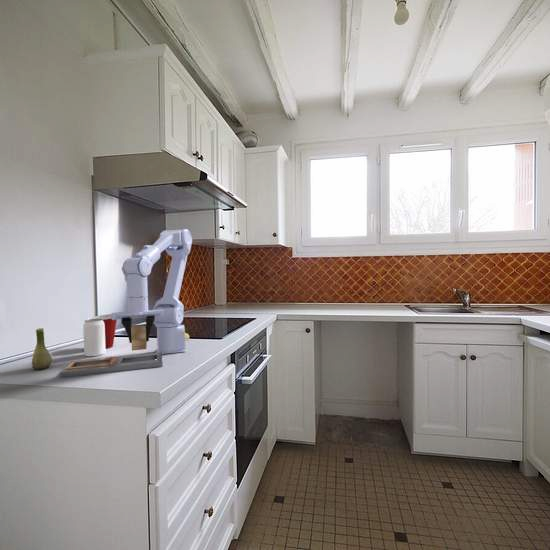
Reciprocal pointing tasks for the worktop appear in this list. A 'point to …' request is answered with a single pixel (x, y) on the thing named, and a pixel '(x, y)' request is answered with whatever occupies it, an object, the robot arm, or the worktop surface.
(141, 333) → the oak peg
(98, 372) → the rail plate
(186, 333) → the bread roll
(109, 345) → the plastic cup
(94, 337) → the can
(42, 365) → the fennel bulb
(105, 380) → the worktop surface
